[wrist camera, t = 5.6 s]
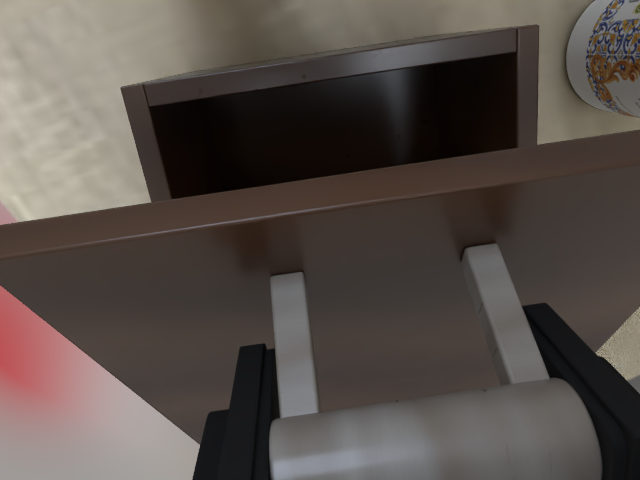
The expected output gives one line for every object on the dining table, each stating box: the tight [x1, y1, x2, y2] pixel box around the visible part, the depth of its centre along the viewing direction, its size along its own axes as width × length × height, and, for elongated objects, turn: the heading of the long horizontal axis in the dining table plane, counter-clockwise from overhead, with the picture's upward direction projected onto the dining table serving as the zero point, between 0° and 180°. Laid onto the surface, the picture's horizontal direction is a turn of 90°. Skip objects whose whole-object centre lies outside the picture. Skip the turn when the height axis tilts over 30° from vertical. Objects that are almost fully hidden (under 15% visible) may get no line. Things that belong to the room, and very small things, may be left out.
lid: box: [0, 130, 640, 480], centre depth 14 cm, size 16×15×5 cm
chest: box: [121, 24, 539, 202], centre depth 26 cm, size 16×15×12 cm
